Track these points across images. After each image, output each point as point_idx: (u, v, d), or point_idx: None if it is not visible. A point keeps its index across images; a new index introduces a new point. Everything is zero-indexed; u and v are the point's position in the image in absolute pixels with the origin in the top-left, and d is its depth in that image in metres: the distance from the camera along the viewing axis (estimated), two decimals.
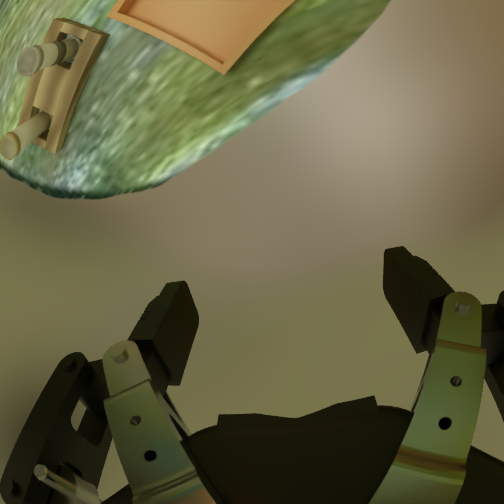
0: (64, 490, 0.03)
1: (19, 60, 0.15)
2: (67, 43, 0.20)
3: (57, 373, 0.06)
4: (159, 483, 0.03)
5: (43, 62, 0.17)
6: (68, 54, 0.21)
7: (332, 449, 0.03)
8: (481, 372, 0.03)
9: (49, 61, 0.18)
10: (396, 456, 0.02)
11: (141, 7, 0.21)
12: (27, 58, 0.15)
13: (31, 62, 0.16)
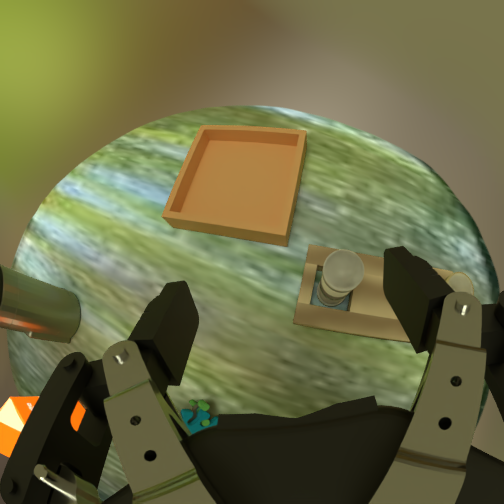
0: (64, 490, 0.03)
1: (343, 285, 0.23)
2: None
3: (57, 373, 0.06)
4: (159, 483, 0.03)
5: None
6: None
7: (332, 449, 0.03)
8: (481, 372, 0.03)
9: None
10: (396, 456, 0.02)
11: (272, 224, 0.37)
12: (339, 269, 0.24)
13: (343, 259, 0.24)
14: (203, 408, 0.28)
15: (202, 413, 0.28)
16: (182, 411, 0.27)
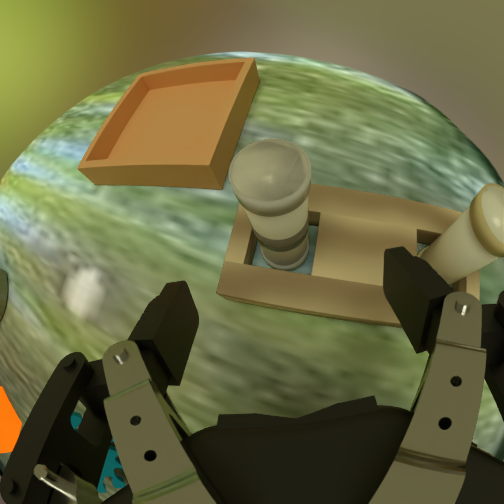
0: (64, 490, 0.03)
1: (266, 195, 0.12)
2: None
3: (57, 373, 0.06)
4: (159, 483, 0.03)
5: None
6: None
7: (332, 449, 0.03)
8: (481, 372, 0.03)
9: None
10: (396, 456, 0.02)
11: None
12: (259, 169, 0.12)
13: (269, 153, 0.13)
14: None
15: None
16: None
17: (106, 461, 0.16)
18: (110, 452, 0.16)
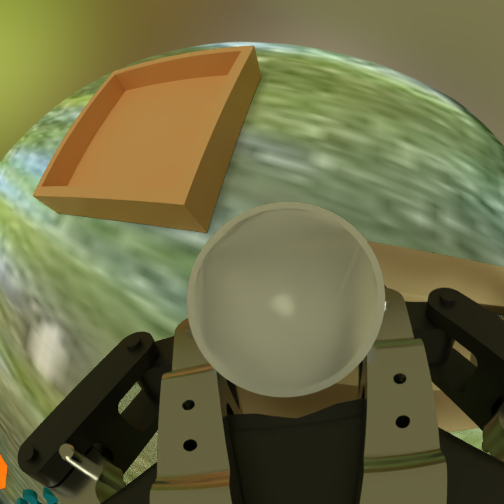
0: (87, 472, 0.04)
1: (276, 374, 0.05)
2: None
3: (117, 351, 0.07)
4: (187, 476, 0.03)
5: None
6: None
7: (332, 449, 0.03)
8: (424, 362, 0.04)
9: None
10: (396, 456, 0.02)
11: None
12: (260, 294, 0.05)
13: (284, 247, 0.05)
14: None
15: None
16: (43, 491, 0.08)
17: None
18: None
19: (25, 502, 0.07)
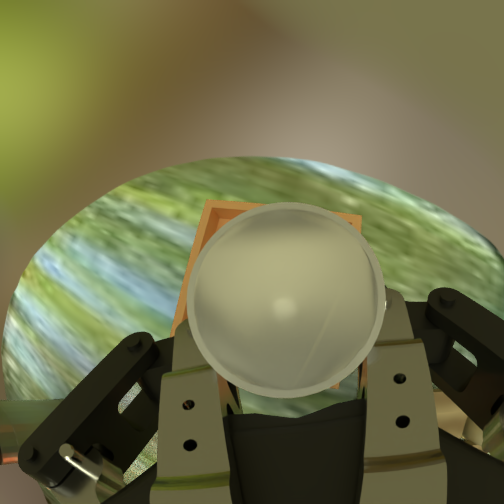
0: (87, 472, 0.04)
1: (276, 374, 0.05)
2: None
3: (117, 351, 0.07)
4: (187, 476, 0.03)
5: None
6: None
7: (332, 449, 0.03)
8: (424, 362, 0.04)
9: None
10: (396, 456, 0.02)
11: None
12: (260, 295, 0.05)
13: (284, 248, 0.05)
14: None
15: None
16: None
17: None
18: None
19: None
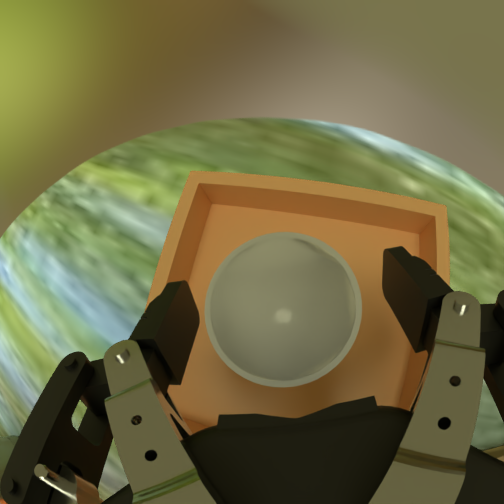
0: (65, 490, 0.03)
1: (275, 369, 0.06)
2: None
3: (58, 373, 0.06)
4: (159, 483, 0.03)
5: None
6: None
7: (332, 449, 0.03)
8: (480, 372, 0.03)
9: None
10: (396, 456, 0.02)
11: None
12: (263, 307, 0.06)
13: (282, 270, 0.07)
14: None
15: None
16: None
17: None
18: None
19: None
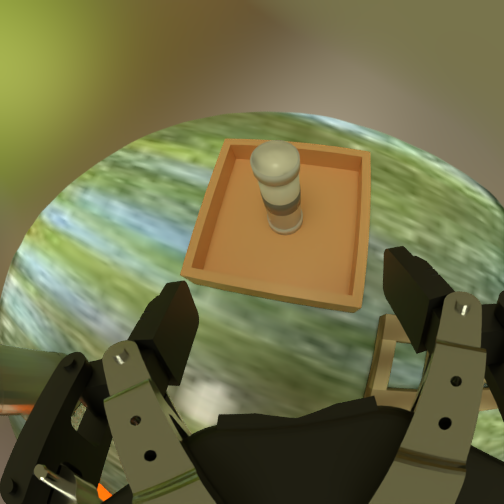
0: (64, 490, 0.03)
1: (273, 173, 0.20)
2: None
3: (57, 373, 0.06)
4: (159, 483, 0.03)
5: None
6: None
7: (332, 449, 0.03)
8: (481, 372, 0.03)
9: None
10: (396, 456, 0.02)
11: (335, 284, 0.27)
12: (268, 158, 0.20)
13: (274, 149, 0.20)
14: None
15: None
16: None
17: None
18: None
19: None
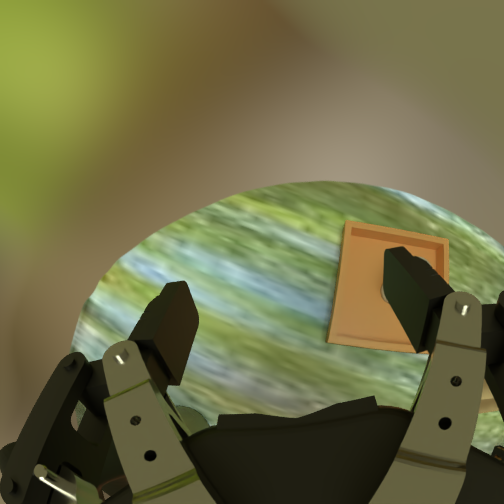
0: (64, 490, 0.03)
1: None
2: None
3: (57, 373, 0.06)
4: (159, 483, 0.03)
5: None
6: None
7: (332, 449, 0.03)
8: (481, 372, 0.03)
9: None
10: (396, 456, 0.02)
11: None
12: None
13: None
14: None
15: None
16: None
17: None
18: None
19: None
